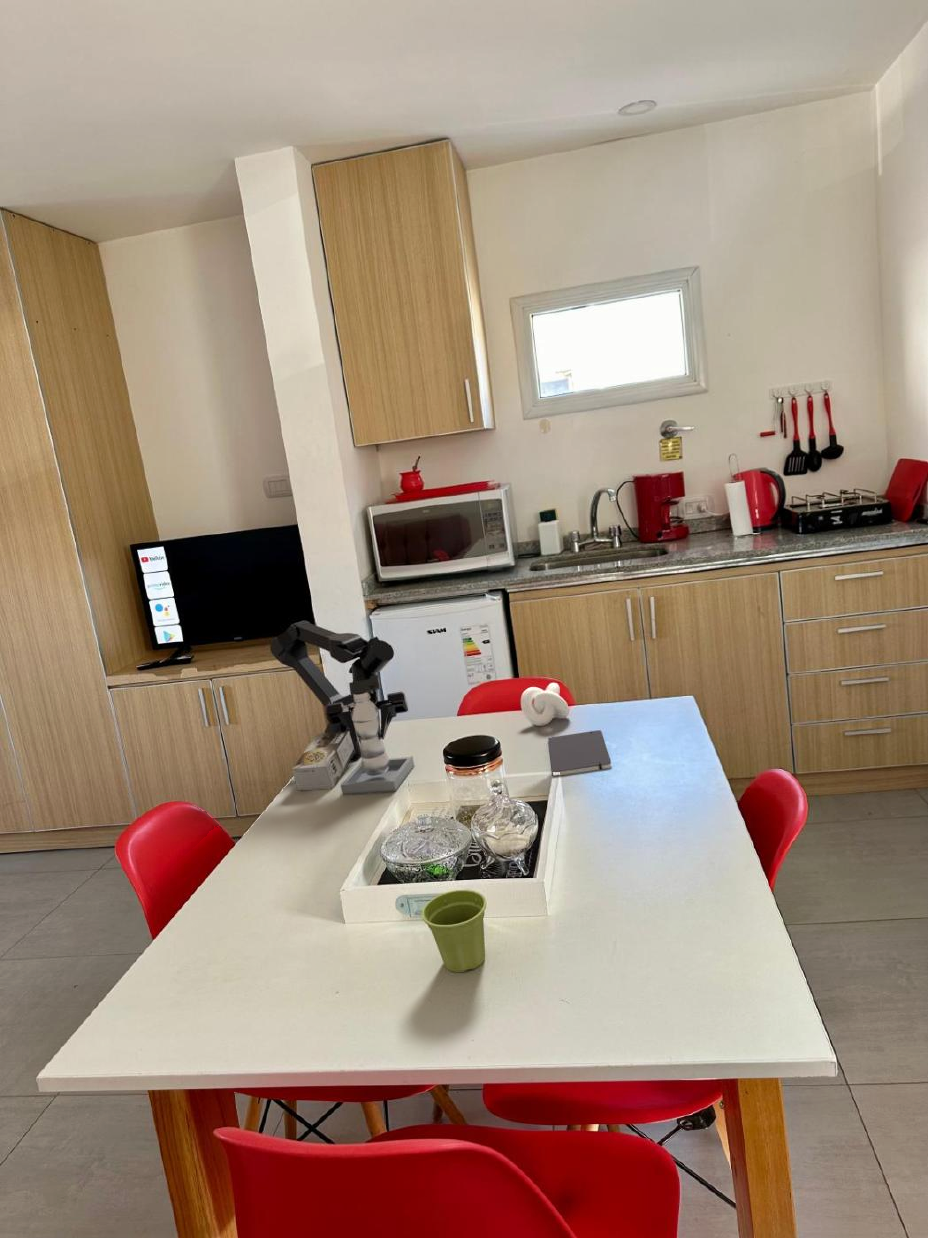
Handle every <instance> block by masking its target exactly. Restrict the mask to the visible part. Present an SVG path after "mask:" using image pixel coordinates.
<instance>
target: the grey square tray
mask: <svg viewBox="0 0 928 1238" xmlns="http://www.w3.org/2000/svg"><path fill="white" fill-rule="evenodd" d="M413 767H414V768H415V763H414V758H413V756H407V757H394V758H389V768H388V770H387V771H386V772H384V773H382V774H379V775H375V776H369V775H367V774H366V773H365V772H364V771H363V768H362V763H361V762H360V763H358V765H357V766H356V767H355V768H354V769H353V770H352V771H351V772H350V774H349V775H348V776H347V777H346V778H345V779H344V781H342V782H341V784H340V791H341V793H342V796H351V795H352V796H353V795H366V794H370V795H371V794H380V793H381V794H383V793H384V794H385V793H396V792H397V791H398V790H399V788H400V787H401V785H402V784H403V783H404V782H405V780H406V779H407V778H408V776H409V775H410V773H411V772H412V771H413V769H414V768H413ZM411 770H412V771H411ZM409 772H410V773H409ZM408 774H409V775H408ZM407 775H408V776H407ZM403 781H404V782H403ZM397 789H398V790H397Z"/></svg>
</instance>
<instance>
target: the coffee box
mask: <svg viewBox="0 0 928 1238" xmlns="http://www.w3.org/2000/svg"><path fill="white" fill-rule="evenodd" d="M354 753H355V749H354V746H353V742H352V739H351V736H350V733H349V731H343V732H329V733H325V732H318V733H317V732H316V735H315V736H314V737H313V739H312V740H311V741H310V743H309V744H308V745H307V747H306V749H305V750H304V752H303V753H302V755H301V756H300V757H299V759H298V760H297V762H296V763H295V764H294V766H293V767H292V769H291V771H292V774H293V777H294V780H295V784H296V786H297V789H298V791H316V790H317V791H318V790H331V789H334V787H335V785H336V784H337V782H338V781H339V779H340V777H341V776H342V774H343V773H344V771H345V770H346V767H347V766H348V764H349V763H350V759H351V758H352V756H353V755H354Z"/></svg>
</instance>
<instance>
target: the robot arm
mask: <svg viewBox="0 0 928 1238" xmlns="http://www.w3.org/2000/svg"><path fill="white" fill-rule="evenodd" d="M307 644H309V645H312V646H315V647H316V648H317V647H318V648H319V649H323V650H324V651H327V652H328V654H329V656H330V657H331V658H332V659H334V660H336V662H337V661H338V663H341V664H346V663H348V662H350V661H353V660H354V661H353V663H352V664H351V667H350V668H349V670H348V673H349V674H351V677H352V682H351V681H350V682H349V683H348V686H349V693H350V694H347V695H342V694H340V692H339V691H338V690H337V688H336V687H334V685H333V684H332V683H331V681H329V679H328V677H326V675H325V674H324V672H322V671H321V670H320V668H319V667H318V666H317V664H316V663H315V662H314V661H313V660H312V659H311V657H310V656H309V654H308V645H307ZM269 649H270V652H271V654H272V656H273V658H275V659H276V660H277V661H278V662H280V663H281V664H282V665H285V666H287V667H288V668H289V667H290V668H291V669H293V670H294V671H295V672H296V674H297V676H299V677H300V679H302V681H303V682H304V684H305V685H306V686H307V688H308V689H310V690H311V691H312V693H313V694H314V696H315V697H316V698H317V699H318V701H319V702H321V704H322V706H323V707H324V709H325V710H324V711H325V713H324V714H325V716H326V720H327V722H328V723H327V726H326V728H325V730H324V733H329V732H343V731H349V733H350V736H351V739H352V742H353V746H354V749H355V753H354V755H353V756H352V758H351V759H350V761H351V762H353V761H358V760H360V759H361V749H360V742H359V738H358V735H357V731H356V729H355V726H354V723H353V721H352V711H353V708H354V706H355V704H356V702H354V695H353V694H355V695H359V694H363V693H366V692H368V693H369V695H370V701H371V702H372V703H373V704H374V705H375V706H376V707H377V708H378V710H379V711H380V729H381V738H382V740H385V737H386V736H387V735H386V734H387V731H388V728H389V727H390V723H391V722H392V720H393V718H396V717H397V716H398V714H402V713H407V712H409V704H408V700H407V698H406V695H405V693H404V692H403V691H397V692H392V693H388V694H387V696H386V697H387V699H385V700H384V699H383V700H379V693H378V692H379V690H381V681H380V675H378V674H377V673H379V672H381V671H382V670H383V669H384V668H385V667H386V666H387V665H388V664H389V663H390V661H391V660H392V659H393V658H394V656H395V651H394V648H393V646H392V645H391V644H390V643H388V642H387V641H385V640H382V639H379V637H378V636H373V637H371V638H370V639H369V640H366V639H364V638H363V637H362V636H361V635H360V634H358V633H352V632H345V633H337V632H334V631H332V630H328V629H327V628H324V627H320V626H318V625H315V624H313V623H310V621H308V620H302V621H298V622H294V623H292V624H291V625H290V626H289V627H288V628H287V629H286V630H285V631H283V632H282V633H281V634H279V635H278V636H277V637H275V638H273V639H272V640H271V643H270V647H269ZM350 761H349V762H350Z"/></svg>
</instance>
